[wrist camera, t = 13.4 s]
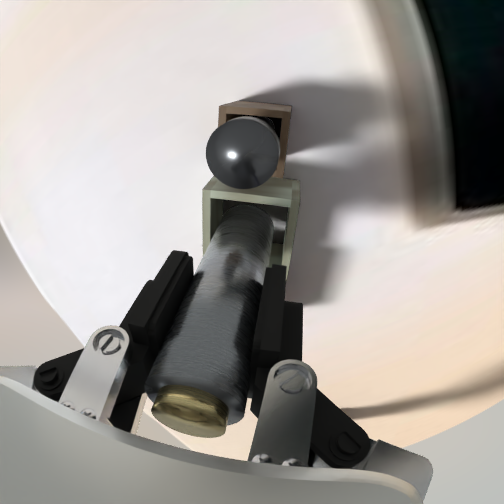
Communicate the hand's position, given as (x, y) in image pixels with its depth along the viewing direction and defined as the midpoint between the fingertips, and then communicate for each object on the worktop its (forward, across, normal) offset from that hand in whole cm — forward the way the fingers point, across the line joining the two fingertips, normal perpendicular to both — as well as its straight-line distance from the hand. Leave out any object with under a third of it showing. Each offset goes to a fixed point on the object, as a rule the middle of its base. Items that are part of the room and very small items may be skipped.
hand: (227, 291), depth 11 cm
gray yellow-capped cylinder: (+5, 0, 0) cm, 5 cm away
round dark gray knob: (+7, 0, -5) cm, 9 cm away
